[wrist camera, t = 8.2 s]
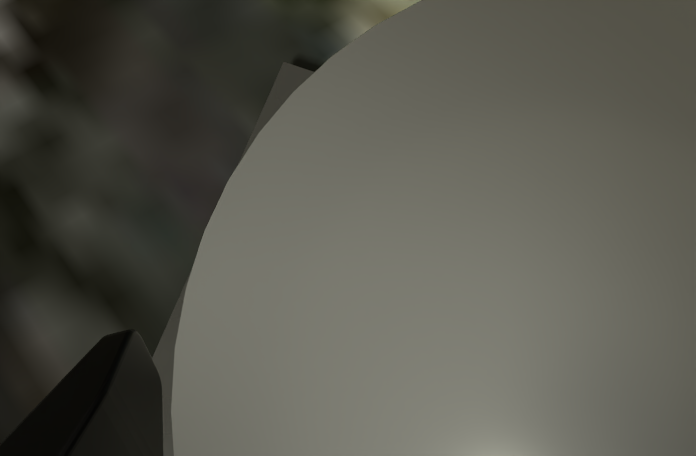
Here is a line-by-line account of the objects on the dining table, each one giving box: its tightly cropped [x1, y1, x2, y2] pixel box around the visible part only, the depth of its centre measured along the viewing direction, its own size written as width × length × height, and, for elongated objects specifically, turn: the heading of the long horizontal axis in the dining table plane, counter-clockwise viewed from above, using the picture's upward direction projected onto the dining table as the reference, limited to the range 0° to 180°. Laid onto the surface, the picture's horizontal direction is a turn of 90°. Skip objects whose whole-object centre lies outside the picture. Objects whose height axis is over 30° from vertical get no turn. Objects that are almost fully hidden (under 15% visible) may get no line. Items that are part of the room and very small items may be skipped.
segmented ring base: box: [152, 62, 314, 456], centre depth 15 cm, size 14×14×4 cm
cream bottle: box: [171, 0, 696, 456], centre depth 10 cm, size 6×6×12 cm
